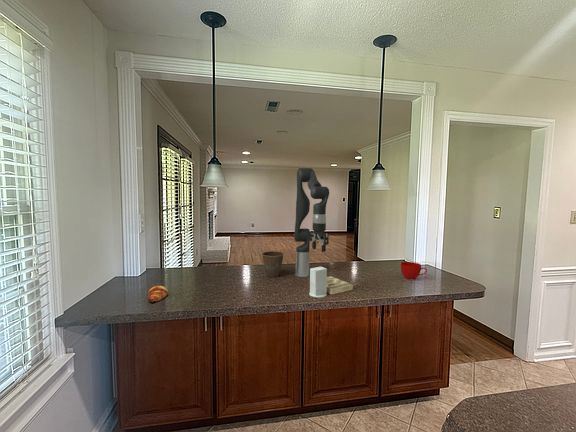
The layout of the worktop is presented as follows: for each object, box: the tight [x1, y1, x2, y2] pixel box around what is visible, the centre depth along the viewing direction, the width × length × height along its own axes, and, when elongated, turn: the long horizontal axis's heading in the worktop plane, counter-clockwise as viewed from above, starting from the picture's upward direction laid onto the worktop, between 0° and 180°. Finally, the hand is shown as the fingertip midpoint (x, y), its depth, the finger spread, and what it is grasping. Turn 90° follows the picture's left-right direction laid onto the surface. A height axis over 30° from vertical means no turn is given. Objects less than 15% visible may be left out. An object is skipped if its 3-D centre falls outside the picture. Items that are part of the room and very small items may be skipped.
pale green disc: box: [309, 292, 328, 299], centre depth 169 cm, size 10×10×1 cm
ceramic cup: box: [400, 261, 428, 280], centre depth 200 cm, size 13×17×10 cm
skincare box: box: [309, 266, 328, 296], centre depth 168 cm, size 8×6×15 cm
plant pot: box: [261, 251, 284, 278], centre depth 204 cm, size 15×15×16 cm
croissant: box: [147, 285, 169, 303], centre depth 163 cm, size 21×10×8 cm, turn 8°
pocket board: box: [327, 275, 354, 295], centre depth 182 cm, size 20×17×3 cm
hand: (318, 250), depth 167 cm, fingers open, 8 cm apart
